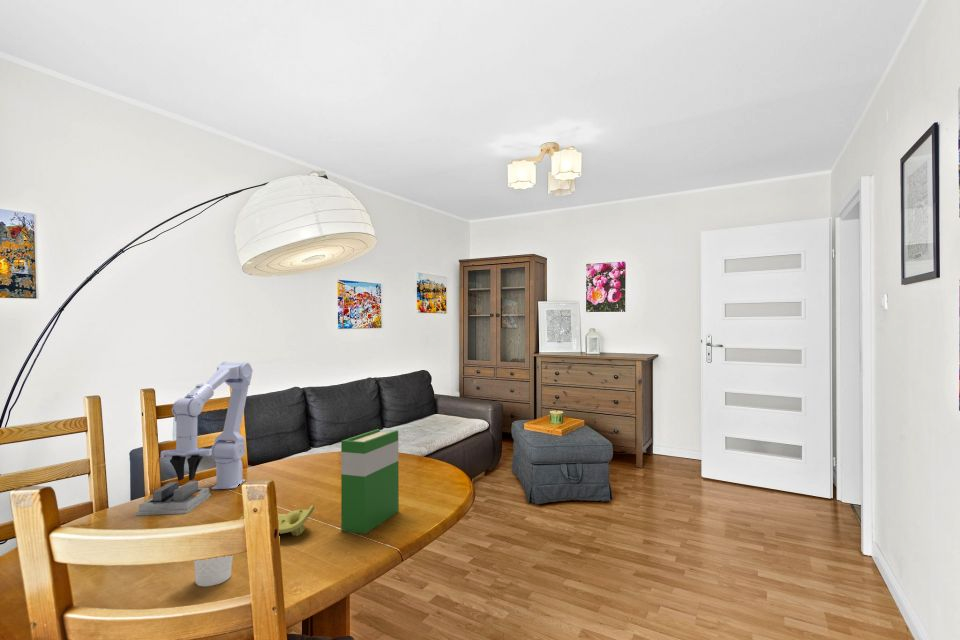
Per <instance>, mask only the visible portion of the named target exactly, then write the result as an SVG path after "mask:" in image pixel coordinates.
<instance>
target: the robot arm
mask: <svg viewBox="0 0 960 640" xmlns="http://www.w3.org/2000/svg"><path fill="white" fill-rule="evenodd" d="M252 374H253V368H252V366H251V364H250V362H249V361H222V362H221V363H220V365H218V366H217V367H216V372H215V373H213V374H212V376H211V377H210V378H209V379H208V380H206V382H205V383H202V382H201V383H198V384H197V385H195V388H194V389H192V390H190V392H189V393H187V394H186V395H185V396H184V397H181V398H178V399H177V400H176V401H174V403H173V405H172V408H171V413H172V415H173V416H174V421H175V423H176V426H175V430H176V432H175V434H176V435H175V440H176V441H175V443H176V444H175V449H166V450H161V451H160V458H161V459H162V458H163V459H164V458H170V459H169V462H170V464H171V466H172V467H173V469H174V471H175V473H176V477H177V482H179V481H183V480H184V478H185V463H186V460H187V465H188V480H189V481H194V479H195V476H196V473H197V470H198V467H199V465H200V463H201V461H202V459H203V457H212V459H213V460H214V462H215V463H216V478H215V479H216V482H215V483H216V484H215V485H213V486H212V487H211V490H227V489H229V490H231V489H236V488H238V487H239V486H240V485H241V484H243V483H244V482H246V479H244V478H243V462H242V458H243V457H244V455H245V453H246V445H245V443H246V439H245V437H244V436H243V435H241V434H240V431H241V427H242V422H243V417H244V412H245V407H246V402H247V398H248V397H247V396H248V391H249V386H250V385H251V379H252ZM223 383H225V384H226V385H227V386H229V387H230V388H231V392H230V397H229V401H228V405H227V406H228V407H227V410H226V411H227V412H226V417H225V420H224V425H223V430H222V432H221V433H219V434H218V436H216V437H215V440H214V442H213V443H212V446H211V448H201V447H200V448H199V447H198V417H199V415H200V414H201V413H202V411H203V408H204V405H205V404H206V403H207V402H208V401H209V400H210V399H211V398H212V397H213V396H214V395H215V394H214V393H215V392H214V391H215V390H216V389H217V388H218V387H220V386H221V385H222V384H223ZM187 457H189V458H187ZM186 458H187V459H186ZM242 481H243V482H242ZM239 484H240V485H239ZM238 485H239V486H238Z"/></svg>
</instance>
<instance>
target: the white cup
mask: <svg viewBox="0 0 960 640" xmlns="http://www.w3.org/2000/svg"><path fill="white" fill-rule="evenodd" d="M233 556H234V554H233V555H232V556H225V557H218V558H211V559H205V560H197V561H194V560H193V563H194V564H193V565H194V566H193V567H194V576H195V579H194V582H195V584H196V585H197V586H198V587H213V586H217V585H220V584H222V583H225V582H226V581H227V580H229V579H230V578H231V575H232V564H233Z"/></svg>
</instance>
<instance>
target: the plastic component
mask: <svg viewBox="0 0 960 640" xmlns="http://www.w3.org/2000/svg"><path fill="white" fill-rule="evenodd" d="M314 510H315V505H310V507H309V508H308V509H303V508H302V509H294V510H292V511H289V512H288V513H277V514H278V520H279V533H280V534H279V535H282V534H286V533H291V535H292V536H299V535H302V534H303V532H304V531H305V530H306V528H305V526H304V524H305V522H306V521H307V520H308V518H309V517H311V515H312V513H313V512H314ZM242 518H243V515H241V517H240V518H239V520H240V519H242Z"/></svg>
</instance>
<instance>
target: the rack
mask: <svg viewBox="0 0 960 640" xmlns="http://www.w3.org/2000/svg"><path fill="white" fill-rule="evenodd" d="M179 486H180V485H179V481H170V482H168V483H166V484H164V485H163V486H161V487H158V488H157V489H155V490H153V491H152V497H150V498H149V499H146V500H145V501H143V502H141V503H139V506H138V507H139V510H138V511H137V512H136V516H137V517H138V516H139V517H141V516H156V515H157V516H159V515H181V514H182V515H183V514H189V512H191V511H192V510H194V509H195V508H197V507H198V506H199V505H200V504H202V503H203V502H205V501H206V500H208V499H209V498H210V497H211V496H212V493H211V492H210V487H198V492H196V493H194V494H192V495H191V497H190V498H188V499H187V500H185V501H174V490H176V489H178V488H179Z"/></svg>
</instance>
